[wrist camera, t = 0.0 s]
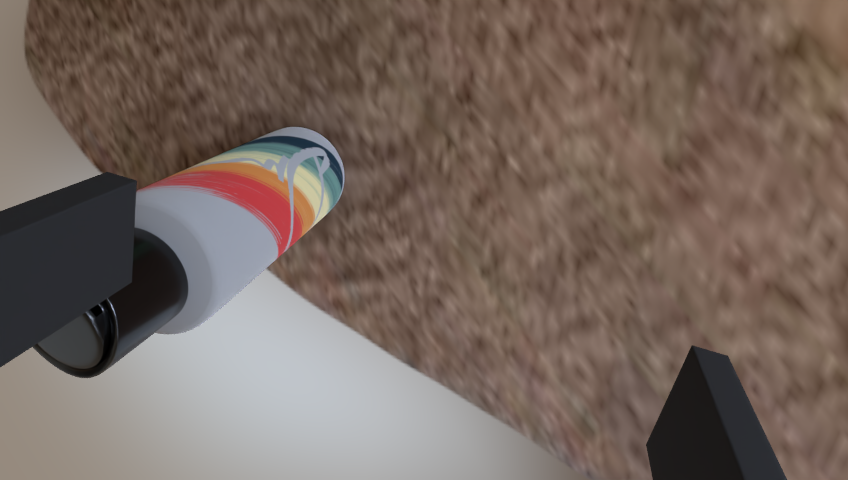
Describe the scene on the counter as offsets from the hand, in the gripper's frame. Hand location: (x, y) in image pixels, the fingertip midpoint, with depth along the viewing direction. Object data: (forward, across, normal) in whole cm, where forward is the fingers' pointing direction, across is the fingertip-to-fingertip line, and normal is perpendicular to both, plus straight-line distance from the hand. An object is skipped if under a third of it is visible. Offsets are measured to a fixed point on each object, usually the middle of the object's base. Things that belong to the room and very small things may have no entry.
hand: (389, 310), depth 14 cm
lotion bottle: (+22, -10, -5) cm, 25 cm away
